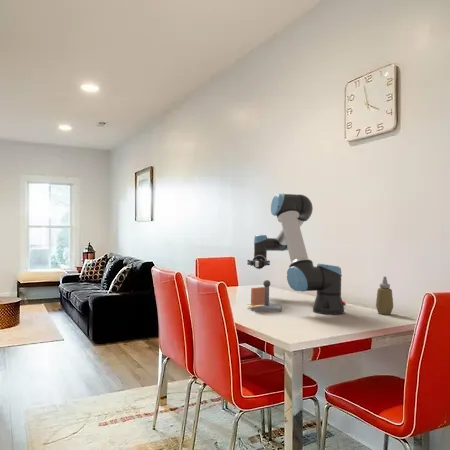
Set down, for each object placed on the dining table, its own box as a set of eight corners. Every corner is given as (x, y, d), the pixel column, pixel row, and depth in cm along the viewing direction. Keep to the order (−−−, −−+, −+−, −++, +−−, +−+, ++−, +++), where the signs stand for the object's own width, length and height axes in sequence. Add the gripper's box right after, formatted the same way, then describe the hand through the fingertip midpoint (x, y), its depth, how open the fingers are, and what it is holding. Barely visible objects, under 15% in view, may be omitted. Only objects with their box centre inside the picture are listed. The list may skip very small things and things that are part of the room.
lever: (266, 304, 219) (266, 279, 219) (271, 305, 216) (272, 280, 216) (249, 306, 210) (249, 281, 211) (254, 307, 208) (255, 281, 208)
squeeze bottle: (380, 311, 214) (380, 275, 215) (396, 313, 209) (396, 276, 209) (372, 313, 209) (373, 276, 209) (388, 316, 203) (389, 278, 203)
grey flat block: (280, 306, 222) (280, 303, 222) (280, 311, 208) (280, 308, 208) (247, 305, 225) (247, 301, 225) (245, 310, 211) (245, 306, 211)
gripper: (270, 268, 247) (269, 271, 223) (248, 268, 248) (244, 271, 225) (270, 255, 247) (269, 257, 224) (248, 255, 249) (244, 256, 225)
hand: (256, 264), depth 224 cm, fingers closed
